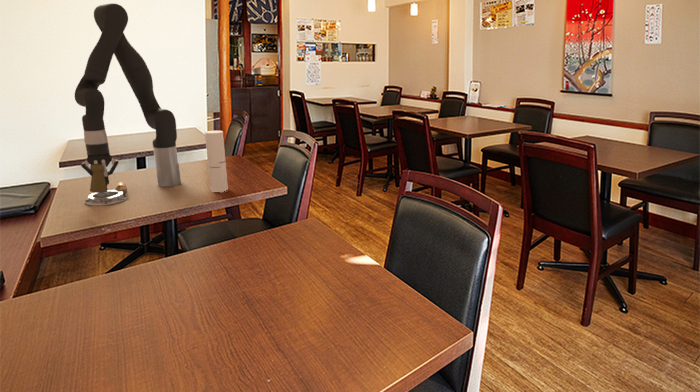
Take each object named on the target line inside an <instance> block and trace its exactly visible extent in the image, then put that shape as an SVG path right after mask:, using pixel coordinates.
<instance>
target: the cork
mask: <svg viewBox="0 0 700 392" xmlns="http://www.w3.org/2000/svg"><path fill="white" fill-rule="evenodd" d="M89 168H90V169H91V171H92V172H93V176H91V178H90V188H89V192H90V193H103V192H107V191H108V190H109V189H108V186H106V182H105V176H104V166H103V165H102V164H96V165H94V164H93V165H91V164H90V167H89Z"/></svg>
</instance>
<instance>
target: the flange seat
mask: <svg viewBox="0 0 700 392" xmlns="http://www.w3.org/2000/svg"><path fill="white" fill-rule="evenodd" d="M87 196H88V197H87V199H85V200H84V204H85V205H86V206H88V207H107V206H113V205H117V204H120V203H123V202H125V201H127V200H128V198H129V197H128V195H127V193H126V194H123V191H120V190H116V189H108V191H107V192H103V193H94V192H91V194H89V195H87Z"/></svg>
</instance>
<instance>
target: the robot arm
mask: <svg viewBox="0 0 700 392" xmlns="http://www.w3.org/2000/svg"><path fill="white" fill-rule="evenodd" d="M93 10H94V11H93V18H94V22H95V24H96V26H97V27H98V29H99V30H100V32H101V35H100V37H99V39H98V40H97V43H96V45H95V46H94V47H93V49H92V51H91V53H90V54H89V57H88V59H87V62H86V66H85V70H84V73H83V76H82V77H81V79H80V81H79V82H78V84H77V86H76V87H75V91H74V100H75V102H76V104H77V105H79V106H81V107H82V108H83V107H84V108H85V114H83V115H82V117H81V121H82V122H81V123H82V128H83V139H84V143H85V151H86V155H87V157H86V160H85V161H84V162H81V164H80V167H82V168H83V169H84V170H85V171H86V173H88V174H89V175H90V176H91V177H92V176H93V172H92V171H91V169H90V167H89V165H90V166H91V165H93V164H94V165H96V164H102V165H103V166H104V176H105V182H106V186H107V187H108V185H109V184H110V179H109V176H111V175H113V174H114V172H115V170H116V168H117V167H118V164H119V159H116V158H113V157H112V155H111V153H110V148H109V147H110V146H109V139H108V135H107V132H106V126H105V122H104V121H105V120H104V116H105V105H106V104H105V97H104V95H103V93H102V92H101V91H100V90H99V88H100V86H101V85H104V84H105V82H106V80H107V77H108V73H109V70H110V65H111V62H112V59H113V57H115V58H116V61H117V62H118V64H119V67H120V68H121V71H122V73H123V74H124V76H125V78H126V81H127V83H128V84H129V87H130V88H131V90H132V92H133V94H134V96H135V98H136V99H137V101H138V104H139V107H140V108H141V111H142V114H143V117H144V119H145V122H146V124H147V125H148V126H149V127H150V128H151V129H153V130H155V138H154V139H152V148H153V156H154V165H155V170H156V178H157V179H156V180H157V185H158V186H159V187H161V188H162V187H163V188H171V187H176V186H179V185H182V180H181V172H180V163H179V160H178V152H177V143H176V142H177V139H178V131H177V121H176V117H175V115H174V113H173V112H172V110H168V109H164V108H162V107H161V106H160V104H159V102H158V100H157V99H156V96H155V93H154V83H153V76H152V74H151V72H150V69H149V66H147V63H146V61H145V59H144V58H143V57H142V55H141V54H140V53H139V52H138V51H137V50H136V49H135V47H133V46H132V45H131V43H130V42H129V41H128V39H127V37H126V34H125V33H124V31H125V29H126V28H127V26H128V23H129V16H128V12H127V10H126V9H125V8H124V7H123V6H122V5H121V4H118V3H113V2H112V3H106V4H100V5H98V6H96V7H95V8H94V9H93ZM110 163H111V167H110V169H109V171H108V166H109V164H110Z"/></svg>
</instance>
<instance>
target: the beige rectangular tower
mask: <svg viewBox="0 0 700 392" xmlns="http://www.w3.org/2000/svg"><path fill="white" fill-rule="evenodd" d="M204 138H205V149H206V159H207V167H208V178H209V188H210V192H211V193H214V192H220V193H225V192H227V191H229V187H228V175H227V173H228V172H227V164H226V163H227V162H226V151H225V139H224V131H223V130H207V131H205V132H204ZM226 190H227V191H226ZM224 191H225V192H224Z"/></svg>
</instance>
